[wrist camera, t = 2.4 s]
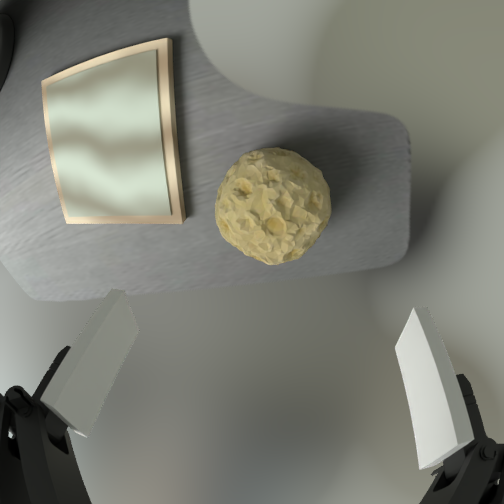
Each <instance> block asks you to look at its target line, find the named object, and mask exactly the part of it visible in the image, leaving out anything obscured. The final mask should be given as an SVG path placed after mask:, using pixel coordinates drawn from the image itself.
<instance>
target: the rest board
mask: <svg viewBox="0 0 504 504" xmlns="http://www.w3.org/2000/svg"><path fill="white" fill-rule="evenodd" d="M42 96H43V108H44V118H45V126H46V133H47V140H48V146H49V152H50V158H51V163H52V168H53V173H54V178H55V182H56V186H57V190H58V195H59V198H60V202H61V206H62V210H63V213H64V217H65V220H66V224H102V223H136V224H183V223H184V221H185V220H186V212H185V205H184V197H183V188H182V179H181V170H180V160H179V150H178V139H177V126H176V113H175V97H174V77H173V46H172V39H169V38H163V39H159V40H154V41H150V42H146V43H142V44H138V45H134V46H131V47H127V48H124V49H121V50H117V51H114V52H111V53H108V54H105V55H102V56H99V57H96V58H94V59H91V60H88V61H86V62H83V63H81V64H78V65H76V66H73V67H71V68H69V69H66V70H64V71H62V72H60V73H57V74H55V75H53V76H51V77H49V78H47V79H45V80H43V81H42Z"/></svg>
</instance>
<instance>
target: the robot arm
mask: <svg viewBox="0 0 504 504" xmlns="http://www.w3.org/2000/svg"><path fill="white" fill-rule="evenodd" d="M13 44H14V26H13V22H12V19H11V18H10V17H9V16H8V15H6V14H0V89H1V87H2V85H3V83H4V80H5V77H6V75H7V72H8V68H9V65H10V61H11V56H12V51H13ZM139 331H140V330H139V328H138V326H137V323H136V320H135V318H134V315H133V313H132V310H131V308H130V305H129V302H128V299H127V296H126V293H125V291H124V290H118V289H111V290H110V292H109V293H108V294H107V296H106V297H105V298H104V300H103V302H102V303H101V304H100V306H99V307H98V308H97V310H96V311H95V313H94V314H93V315H92V317H91V318H90V320H89V321H88V323H87V324H86V326H85V327H84V328H83V330H82V331H81V333H80V334H79V336H78V337H77V339H76V341H75V342H74V344H73V345H72V347H70V346H66V347H65V348H64V349H62V350H61V351H60V352H59V353H58V355H57V356H56V358H55V360H54V361H53V363H52V364H51V366H50V367H49V370H48V371H47V372H46V374H45V376H44V377H43V379H42V381H41V382H40V384H39V386H38V388H37V389H36V391H35V393H34V394H33V396H32V397H31V396H30V395H29V394H28V393H27V392H26V391H25V390H24V389H23V388H22V387H21V386H13V387H11V388H9V389H8V391H7V392H6V394H5V396H2V394H1V393H0V504H92V503H91V501H90V498H89V496H88V493H87V491H86V488H85V485H84V482H83V480H82V477H81V474H80V471H79V468H78V465H77V462H76V458H75V455H74V451H73V448H72V444H71V440H70V437H69V433H68V431H67V427H68V426H69V427H70V428H71V429H72V430H73V431H75V432H76V433H79V434H80V435H82V436H85V437H87V438H88V437H89V435H90V433H91V430H92V428H93V426H94V424H95V421H96V419H97V417H98V414H99V412H100V410H101V408H102V406H103V403H104V401H105V399H106V397H107V395H108V393H109V391H110V389H111V387H112V384H113V382H114V380H115V378H116V376H117V374H118V372H119V370H120V368H121V366H122V364H123V361H124V360H125V358H126V356H127V354H128V352H129V350H130V348H131V346H132V344H133V342H134V340H135V339H136V336H137V335H138V333H139ZM395 350H396V354H397V357H398V361H399V365H400V368H401V372H402V377H403V381H404V385H405V389H406V394H407V398H408V403H409V408H410V413H411V418H412V423H413V429H414V435H415V441H416V447H417V454H418V462H419V469H424V468H428V467H431V466H435V465H437V464H438V463H440V462H442V461H443V466H441V467H439V468H438V469H436V470H434V471H433V473H432V474H431V475H432V476H433V475H434V474H437V473H438V474H437V476H436V478H435V479H434V481H433V483H432V485H431V486H430V488H429V490H428V491H427V493H426V494H425V496H424V497H423V499H422V501H421V502H420V503H419V504H504V444H496V442H495V441H494V440H493V439H491V438H488V437H487V436H486V433H485V431H484V426H483V422H482V419H481V415H480V412H479V409H478V405H477V404H476V399H475V396H474V395H473V390H472V387H471V384H470V382H469V381H468V380H467V378H466V377H465V376H464V374H459V375H455V372H454V369H453V367H452V364H451V361H450V358H449V356H448V353H447V351H446V348H445V346H444V343H443V341H442V338H441V336H440V334H439V332H438V329H437V327H436V325H435V322H434V320H433V318H432V316H431V314H430V312H429V310H428V307H414V308H413V310H412V312H411V314H410V317H409V319H408V321H407V324H406V326H405V328H404V330H403V332H402V334H401V336H400V338H399V340H398V342H397V344H396V346H395ZM9 432H11V433H12V434H13V436H12V438H10V437H8V434H9ZM498 479H500V480H499V485H498V484H497V481H498Z"/></svg>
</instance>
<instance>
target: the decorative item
mask: <svg viewBox="0 0 504 504" xmlns="http://www.w3.org/2000/svg"><path fill="white" fill-rule="evenodd" d="M217 192H218V195H217V199H216V204H215V218H216V223H217V226H218V227H219V230H220V232H221V234H222V237H224V238H225V240H226V241H228V242H229V243H231V244H232V245H233V246H235V247H237V248H238V249H239V250H240V251H242V252H244V254H245V255H247V256H250V257H253V258H255V259H257V260H260V261H263V262H264V263H266V264H269V265H274V264H275V265H279V264H280V263H285V262H287V261H292V260H294V259H299V258H300V257H301V256H302V255H303V254H305V252H306V251H307V250H308V249H309V248H311V247H312V246H313V244H314V243H315V242H316V239H317V238H319V237H320V234H321V232H322V231H323V230H324V228H325V227H326V226H327V223H328V220H329V219H330V215H331V200H330V189H329V186H328V184H327V182H326V181H325V180H324V178H323V175H322V172H321V170H319V169H318V168H316V167H314V166H313V165H312V164H311V163H310V162H309V161H307V160H306V159H305V158H303V157H301V156H300V155H299V154H298V153H295V152H294V151H292V150H291V151H289V150H287V149H280V148H279V147H275V148H262V149H260V150H254V151H250V152H249V153H245V154H243V155H242V156H241V157H240V158H239V160H238V161H237V162H235V163H234V164H233V166H232V167H231V168H230V169H229V170H228V171H227V174H226V176H225V178H224V180H223V182H222V183H221V185H220V187H219V189H218V191H217Z"/></svg>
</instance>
